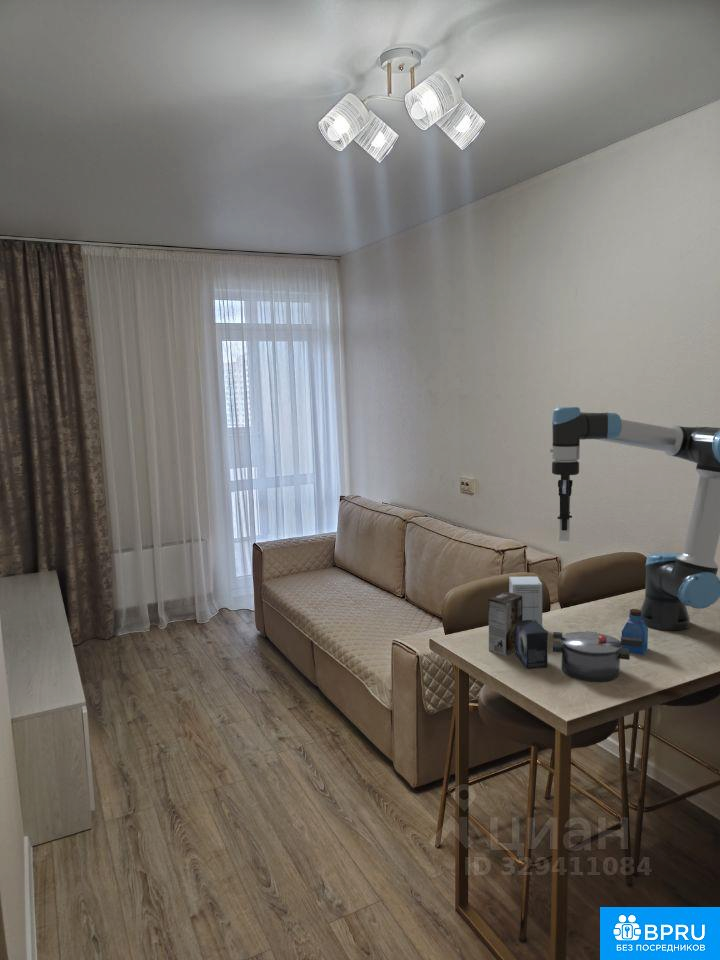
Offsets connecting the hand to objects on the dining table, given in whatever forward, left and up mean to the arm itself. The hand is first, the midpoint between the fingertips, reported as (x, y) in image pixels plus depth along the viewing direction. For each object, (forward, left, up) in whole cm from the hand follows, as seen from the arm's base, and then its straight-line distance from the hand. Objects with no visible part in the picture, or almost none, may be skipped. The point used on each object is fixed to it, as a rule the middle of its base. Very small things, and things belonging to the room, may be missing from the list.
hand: (564, 540), depth 193 cm
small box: (+8, +14, -33) cm, 36 cm away
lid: (-10, +16, -25) cm, 31 cm away
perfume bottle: (-20, -3, -33) cm, 38 cm away
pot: (-8, +16, -32) cm, 37 cm away
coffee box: (+16, +7, -33) cm, 37 cm away
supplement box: (+12, -10, -33) cm, 36 cm away
